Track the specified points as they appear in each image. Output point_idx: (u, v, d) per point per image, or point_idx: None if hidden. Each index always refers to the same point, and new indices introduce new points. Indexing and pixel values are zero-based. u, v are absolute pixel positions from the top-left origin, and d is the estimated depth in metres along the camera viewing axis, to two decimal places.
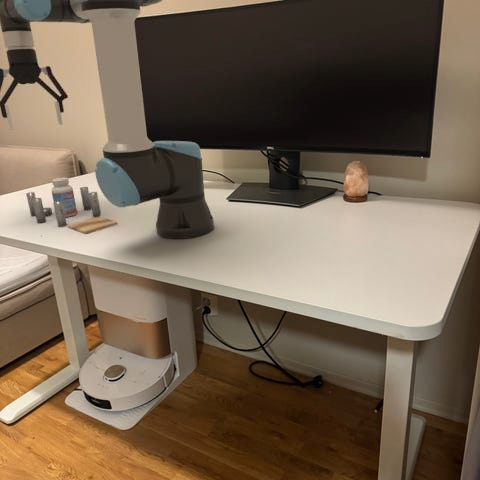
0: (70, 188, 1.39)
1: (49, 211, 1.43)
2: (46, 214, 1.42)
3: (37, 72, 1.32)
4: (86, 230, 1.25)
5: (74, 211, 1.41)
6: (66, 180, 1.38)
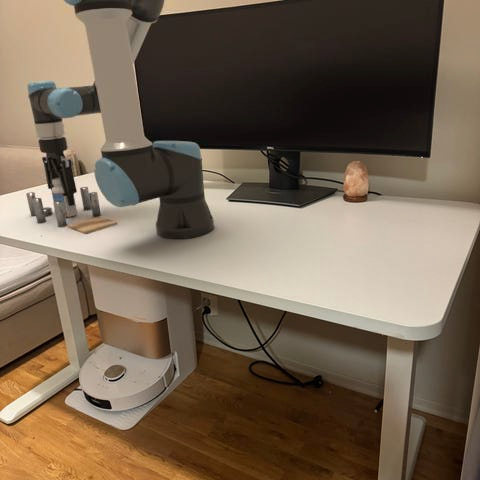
0: None
1: (50, 211, 1.43)
2: (47, 214, 1.42)
3: (57, 160, 1.34)
4: (86, 230, 1.25)
5: None
6: None
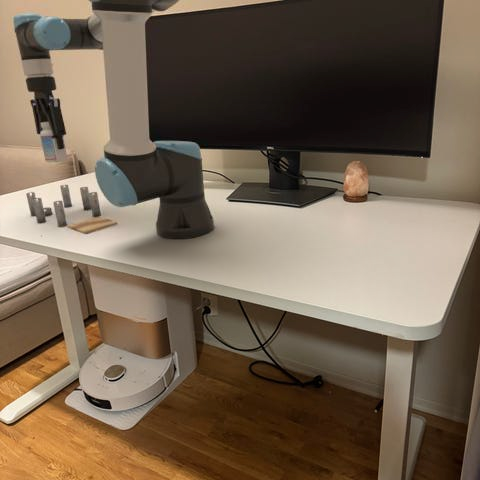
0: None
1: (50, 210, 1.43)
2: (47, 214, 1.42)
3: (45, 100, 1.28)
4: (86, 230, 1.25)
5: None
6: None
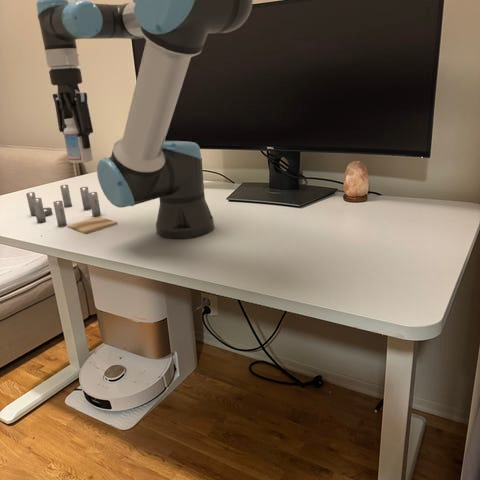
0: None
1: (50, 210, 1.43)
2: (48, 213, 1.42)
3: (70, 94, 1.16)
4: (86, 230, 1.25)
5: None
6: None
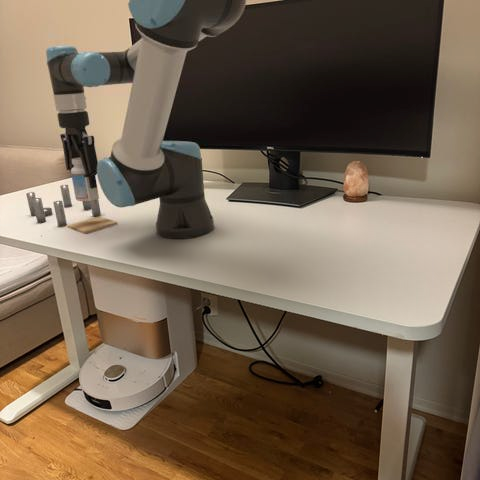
0: None
1: (50, 210, 1.43)
2: (48, 213, 1.43)
3: (78, 137, 1.20)
4: (86, 230, 1.25)
5: None
6: None
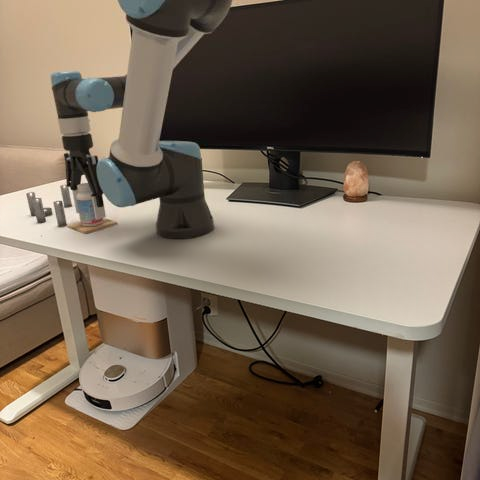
0: None
1: (51, 210, 1.43)
2: (49, 213, 1.43)
3: (82, 159, 1.21)
4: (86, 230, 1.25)
5: (100, 220, 1.29)
6: None
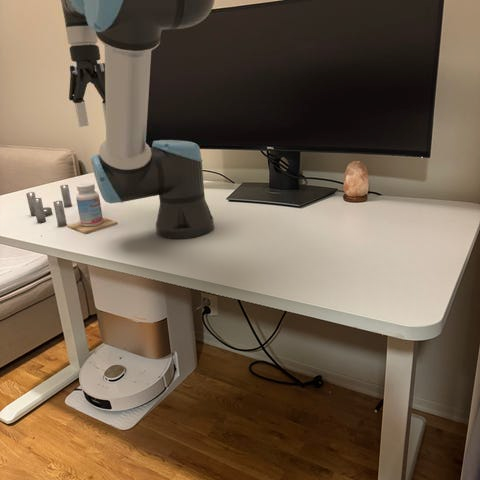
0: (96, 195, 1.27)
1: (51, 210, 1.44)
2: (49, 213, 1.43)
3: (90, 70, 1.22)
4: (86, 230, 1.25)
5: (100, 219, 1.29)
6: (92, 186, 1.26)
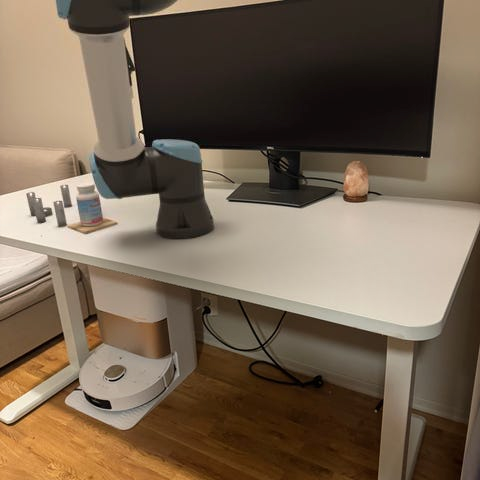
0: (97, 195, 1.27)
1: (51, 210, 1.44)
2: (50, 213, 1.43)
3: None
4: (86, 230, 1.25)
5: (100, 219, 1.29)
6: (92, 186, 1.26)
